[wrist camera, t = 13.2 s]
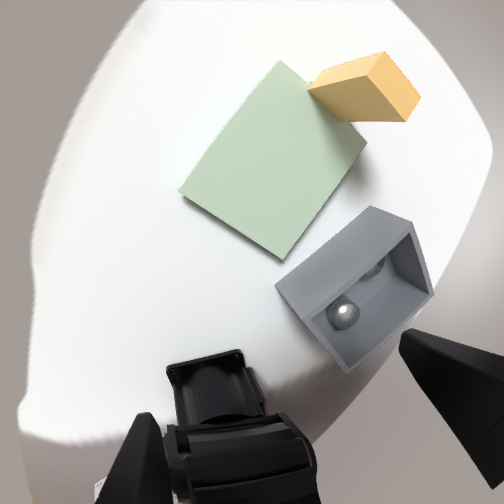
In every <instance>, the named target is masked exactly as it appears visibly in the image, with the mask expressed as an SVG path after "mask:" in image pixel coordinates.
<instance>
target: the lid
mask: <svg viewBox="0 0 504 504" xmlns="http://www.w3.org/2000/svg"><path fill="white" fill-rule="evenodd" d="M420 98H421V96H420V95H419V93H418V92H417V91H416V89H415V88H414V87H413V85H412V84H411V83H410V81H409V80H408V79H407V78H406V76H405V75H404V74H403V73H402V71H401V70H400V69H399V68H398V66H397V65H396V64H395V63H394V62H393V60H392V59H391V58H390V57H389V56H388V55H387V53H386V52H385V51H383V52H380V53H376V54H373V55H369V56H366V57H362V58H359V59H356V60H352V61H349V62H346V63H343V64H340V65H337V66H334V67H331V68H328V69H325V70H323V71H322V72H321V74H320V75H319V76H318V77H317V78H316V80H315V81H314V82H312V81H310V82H305V81H304V80H303V79H302V78H301V77H300V76H299V75H297V74H296V73H295V72H294V71H293V70H291V69H290V68H289V67H288V66H287V65H285V64H284V63H283V62H282V61H281V60H279V61H278V62H276V63H275V65H274V66H273V67H272V68H271V69H270V70H269V71H268V73H267V74H266V75H265V76H264V77H263V78H262V80H261V81H260V82H259V83H258V84H257V86H256V87H255V88H254V89H253V90H252V92H251V93H250V94H249V95H248V96H247V98H246V99H245V100H244V101H243V103H242V104H241V105H240V106H239V108H238V109H237V110H236V111H235V113H234V114H233V115H232V117H231V118H230V119H229V120H228V122H227V123H226V124H225V126H224V127H223V128H222V129H221V131H220V132H219V133H218V135H217V136H216V137H215V139H214V140H213V141H212V143H211V144H210V146H209V147H208V148H207V150H206V151H205V152H204V154H203V155H202V157H201V158H200V159H199V161H198V162H197V164H196V165H195V166H194V168H193V169H192V171H191V172H190V173H189V175H188V176H187V178H186V179H185V181H184V182H183V184H182V185H181V187H180V188H179V190H178V192H179V193H181V194H182V195H184V196H185V197H187V198H189V199H190V200H192V201H193V202H195V203H196V204H198V205H199V206H201V207H202V208H204V209H206V210H207V211H209V212H210V213H212V214H213V215H215V216H216V217H218V218H219V219H221V220H222V221H224V222H226V223H227V224H229V225H230V226H232V227H233V228H235V229H236V230H238V231H239V232H241V233H242V234H244V235H245V236H247V237H249V238H250V239H252V240H253V241H255V242H256V243H258V244H259V245H261V246H262V247H264V248H265V249H267V250H268V251H270V252H271V253H273V254H274V255H276V256H277V257H279V258H281V259H282V260H283V259H284V258H285V256H286V255H287V254H288V252H289V251H290V250H291V248H292V247H293V245H294V244H295V243H296V241H297V240H298V239H299V237H300V236H301V235H302V233H303V232H304V231H305V229H306V228H307V226H308V225H309V224H310V222H311V221H312V220H313V218H314V217H315V216H316V214H317V213H318V211H319V210H320V209H321V207H322V206H323V204H324V203H325V202H326V200H327V199H328V198H329V196H330V195H331V193H332V192H333V191H334V189H335V188H336V186H337V185H338V184H339V182H340V181H341V179H342V178H343V177H344V175H345V174H346V172H347V171H348V169H349V168H350V167H351V165H352V164H353V162H354V161H355V160H356V158H357V157H358V155H359V154H360V152H361V151H362V149H363V148H364V147H365V145H366V144H367V141H366V140H365V139H364V138H363V137H362V136H361V135H360V134H359V133H358V132H357V131H356V130H355V129H354V128H353V127H352V126H351V125H350V123H349V122H359V121H383V122H406V121H407V119H408V118H409V116H410V114H411V113H412V111H413V110H414V108H415V106H416V105H417V103H418V102H419V100H420Z"/></svg>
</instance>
